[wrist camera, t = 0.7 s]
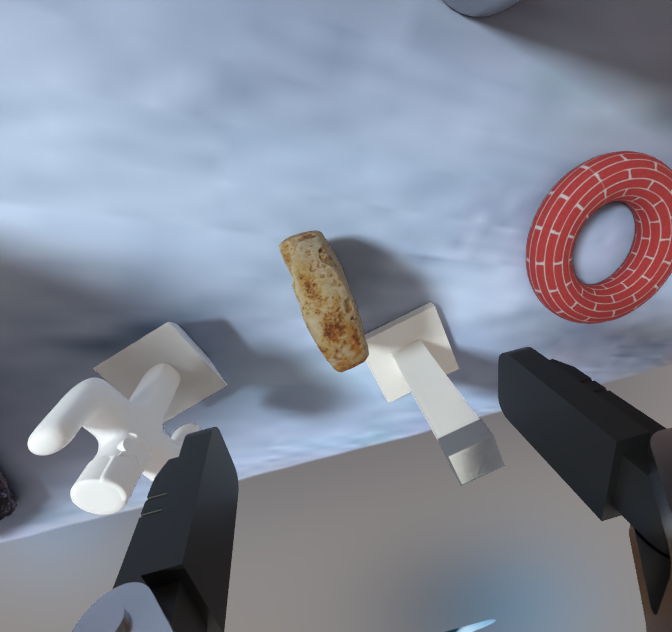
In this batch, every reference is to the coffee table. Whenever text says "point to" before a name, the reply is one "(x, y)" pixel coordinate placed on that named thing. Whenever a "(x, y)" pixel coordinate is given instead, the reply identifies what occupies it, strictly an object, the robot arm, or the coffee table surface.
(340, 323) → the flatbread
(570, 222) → the torus
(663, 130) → the coffee table surface
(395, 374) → the post
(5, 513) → the black rough rounded lump
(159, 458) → the figurine
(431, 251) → the coffee table surface
